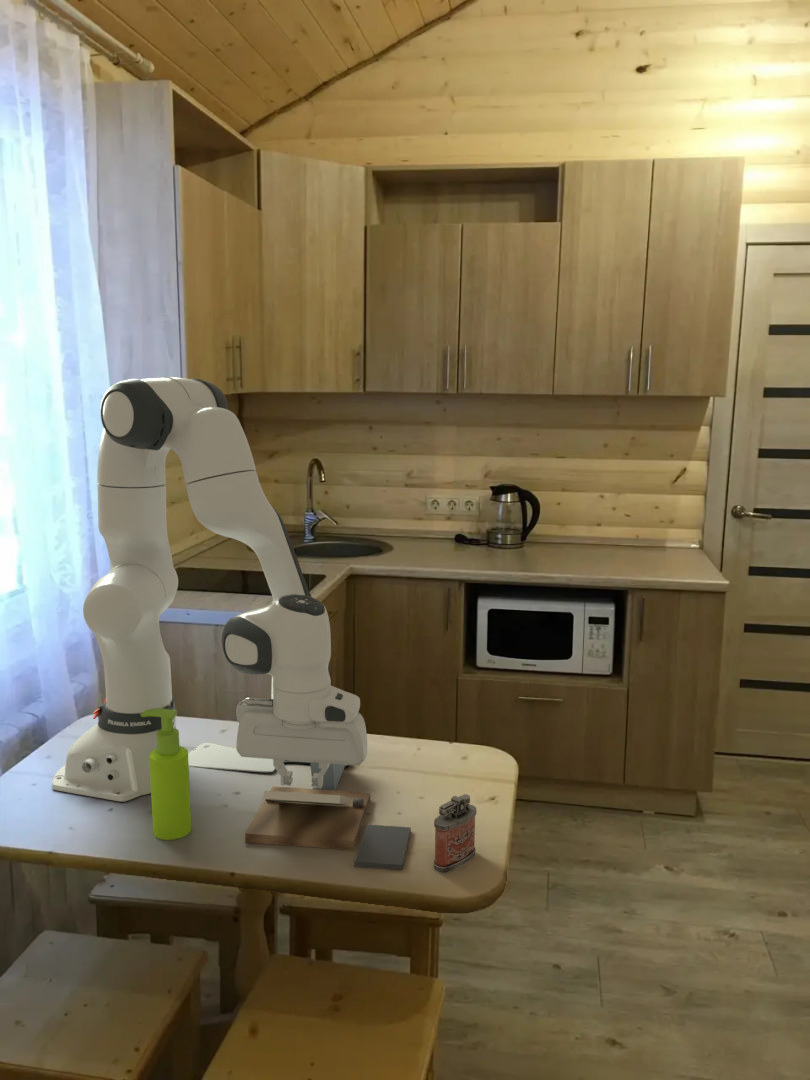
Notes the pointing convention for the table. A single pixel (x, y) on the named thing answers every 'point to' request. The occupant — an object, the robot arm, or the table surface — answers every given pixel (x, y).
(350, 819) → the hinge board
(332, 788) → the grey rectangular prism
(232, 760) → the kitchen cleaver
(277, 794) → the tile
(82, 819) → the table surface
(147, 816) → the table surface
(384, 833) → the pad
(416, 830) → the table surface
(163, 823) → the soap dispenser
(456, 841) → the lighter
